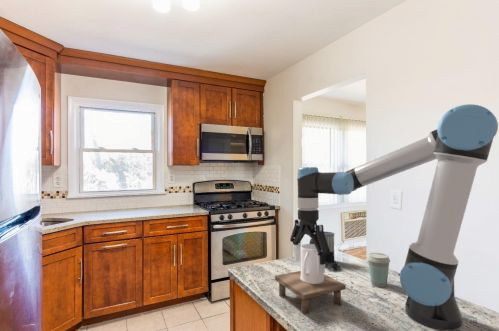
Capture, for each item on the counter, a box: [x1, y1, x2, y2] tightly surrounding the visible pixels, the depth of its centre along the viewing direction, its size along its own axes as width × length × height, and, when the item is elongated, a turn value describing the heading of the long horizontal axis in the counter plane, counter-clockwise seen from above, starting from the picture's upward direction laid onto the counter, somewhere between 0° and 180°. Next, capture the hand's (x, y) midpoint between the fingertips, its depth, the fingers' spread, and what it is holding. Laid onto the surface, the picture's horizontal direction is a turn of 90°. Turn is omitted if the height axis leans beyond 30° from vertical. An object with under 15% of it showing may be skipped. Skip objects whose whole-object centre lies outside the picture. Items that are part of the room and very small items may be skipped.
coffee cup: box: [366, 252, 391, 288], centre depth 113 cm, size 8×8×12 cm
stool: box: [274, 270, 347, 315], centre depth 100 cm, size 18×18×7 cm
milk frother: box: [308, 231, 340, 270], centre depth 138 cm, size 14×16×15 cm
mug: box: [300, 243, 324, 284], centre depth 100 cm, size 12×8×12 cm
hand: (308, 267), depth 100 cm, fingers open, 13 cm apart
